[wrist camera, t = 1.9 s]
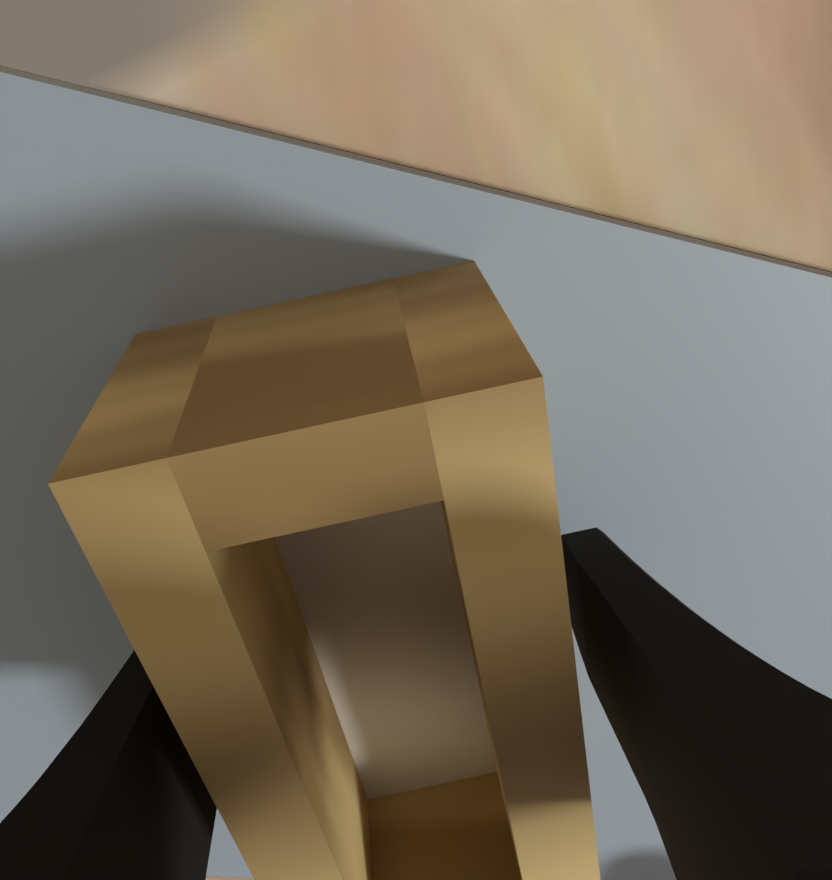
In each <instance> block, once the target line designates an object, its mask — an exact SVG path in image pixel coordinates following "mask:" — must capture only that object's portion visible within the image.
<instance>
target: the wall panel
mask: <svg viewBox="0 0 832 880" xmlns="http://www.w3.org/2000/svg"><path fill="white" fill-rule="evenodd" d="M471 261H475V263H476V264H477V266H478V268H479V270H480V271H481V273H482V275H483V276H484V278H485V280H486V281H487V283H488V285H489V286H490V288H491V290H492V291H493V293H494V295H495V296H496V298H497V300H498V302H499V303H500V305H501V307H502V308H503V310H504V312H505V313H506V315H507V317H508V318H509V320H510V322H511V323H512V325H513V327H514V329H515V330H516V332H517V334H518V335H519V337H520V339H521V340H522V342H523V344H524V345H525V347H526V349H527V350H528V352H529V354H530V355H531V357H532V359H533V361H534V362H535V364H536V366H537V367H538V369H539V371H540V372H541V374H542V376H543V381H544V390H545V398H546V407H547V416H548V425H549V433H550V442H551V451H552V460H553V469H554V477H555V486H556V495H557V504H558V512H559V521H560V530H561V535H563V534H568V533H572V532H577V531H581V530H586V529H591V528H595V527H597V528H598V529H600V530H601V531H603V532H604V533H605V534H606V535H607V536H608V537H609V538H610V539H611V540H612V541H613V542H614V543H615V544H616V545H617V546H618V547H619V548H620V549H621V550H622V551H623V552H624V553H625V554H627V555H628V556H629V557H630V558H631V559H632V560H633V561H634V562H635V563H636V564H637V565H639V566H640V567H641V568H642V569H643V570H644V571H645V572H646V573H648V574H649V575H650V576H651V577H652V578H653V579H654V580H656V581H657V582H658V583H659V584H660V585H662V586H663V587H664V588H665V589H666V590H668V591H669V592H670V593H671V594H673V595H674V596H675V597H676V598H678V599H679V600H680V601H681V602H682V603H684V604H685V605H686V606H687V607H689V608H690V609H691V610H693V611H694V612H695V613H696V614H698V615H699V616H700V617H702V618H703V619H704V620H706V621H707V622H708V623H710V624H711V625H713V626H714V627H715V628H717V629H718V630H719V631H721V632H722V633H724V634H725V635H726V636H728V637H729V638H731V639H732V640H734V641H735V642H736V643H738V644H739V645H741V646H742V647H744V648H745V649H747V650H748V651H750V652H751V653H753V654H754V655H756V656H758V657H759V658H761V659H762V660H764V661H766V662H767V663H769V664H770V665H772V666H774V667H775V668H777V669H778V670H780V671H782V672H783V673H785V674H787V675H789V676H790V677H792V678H794V679H796V680H797V681H799V682H801V683H803V684H804V685H806V686H808V687H809V688H811V689H813V690H815V691H817V692H819V693H821V694H823V695H825V696H827V697H829V698H831V699H832V273H831V272H827V271H823V270H819V269H815V268H811V267H807V266H803V265H799V264H795V263H791V262H787V261H783V260H779V259H775V258H771V257H767V256H763V255H759V254H755V253H751V252H747V251H743V250H739V249H735V248H731V247H727V246H723V245H719V244H715V243H711V242H707V241H703V240H699V239H695V238H691V237H687V236H683V235H679V234H675V233H671V232H667V231H663V230H659V229H655V228H651V227H647V226H643V225H639V224H635V223H631V222H627V221H623V220H619V219H615V218H611V217H607V216H603V215H599V214H595V213H591V212H587V211H583V210H579V209H574V208H570V207H566V206H562V205H558V204H554V203H550V202H546V201H542V200H538V199H534V198H530V197H526V196H522V195H518V194H514V193H510V192H506V191H502V190H498V189H494V188H490V187H486V186H482V185H478V184H474V183H470V182H466V181H462V180H458V179H454V178H450V177H446V176H442V175H438V174H434V173H430V172H426V171H422V170H418V169H414V168H410V167H406V166H402V165H398V164H394V163H390V162H386V161H382V160H378V159H374V158H370V157H366V156H362V155H358V154H354V153H350V152H346V151H342V150H338V149H334V148H330V147H326V146H322V145H318V144H314V143H309V142H305V141H301V140H297V139H293V138H289V137H285V136H281V135H277V134H273V133H269V132H265V131H261V130H257V129H253V128H249V127H245V126H241V125H237V124H233V123H229V122H225V121H221V120H217V119H213V118H209V117H205V116H201V115H197V114H193V113H189V112H185V111H181V110H177V109H173V108H169V107H165V106H161V105H157V104H153V103H149V102H145V101H141V100H137V99H133V98H129V97H125V96H121V95H117V94H113V93H109V92H105V91H101V90H97V89H93V88H89V87H85V86H81V85H76V84H72V83H68V82H64V81H60V80H56V79H53V78H49V77H45V76H40V75H36V74H32V73H28V72H24V71H20V70H16V69H12V68H8V67H4V66H0V823H1V821H2V820H3V819H4V818H5V817H6V816H7V815H8V814H9V813H10V812H11V811H12V809H13V808H14V807H15V806H16V805H17V804H18V803H19V801H20V800H21V799H22V798H23V797H24V796H25V795H26V793H27V792H28V791H29V790H30V789H31V787H32V786H33V785H34V784H35V783H36V782H37V780H38V779H39V778H40V777H41V775H42V774H43V773H44V772H45V770H46V769H47V768H48V767H49V765H50V764H51V763H52V761H53V760H54V759H55V758H56V756H57V755H58V754H59V753H60V751H61V750H62V749H63V747H64V746H65V745H66V744H67V742H68V741H69V740H70V739H71V737H72V736H73V735H74V733H75V732H76V731H77V730H78V728H79V727H80V726H81V724H82V723H83V722H84V720H85V719H86V718H87V716H88V715H89V713H90V712H91V711H92V709H93V708H94V706H95V705H96V704H97V702H98V701H99V699H100V698H101V697H102V695H103V694H104V693H105V691H106V690H107V688H108V687H109V685H110V684H111V683H112V681H113V680H114V678H115V677H116V675H117V674H118V673H119V671H120V670H121V668H122V667H123V665H124V664H125V663H126V661H127V660H128V658H129V657H130V655H131V654H132V653H133V651H134V648H133V646H132V644H131V642H130V640H129V638H128V636H127V635H126V633H125V631H124V629H123V627H122V625H121V623H120V621H119V619H118V617H117V615H116V613H115V612H114V610H113V608H112V606H111V604H110V602H109V600H108V598H107V596H106V594H105V592H104V590H103V589H102V587H101V585H100V583H99V581H98V579H97V577H96V575H95V573H94V571H93V569H92V567H91V566H90V564H89V562H88V560H87V558H86V556H85V554H84V552H83V550H82V548H81V546H80V545H79V543H78V541H77V539H76V537H75V535H74V533H73V531H72V529H71V527H70V525H69V523H68V522H67V520H66V518H65V516H64V514H63V512H62V510H61V508H60V506H59V504H58V502H57V500H56V499H55V497H54V495H53V493H52V491H51V489H50V487H49V485H48V483H49V481H50V479H51V477H52V476H53V474H54V472H55V471H56V469H57V467H58V466H59V464H60V462H61V460H62V459H63V457H64V455H65V454H66V452H67V450H68V448H69V447H70V445H71V443H72V442H73V440H74V438H75V437H76V435H77V433H78V431H79V430H80V428H81V426H82V425H83V423H84V421H85V419H86V418H87V416H88V414H89V413H90V411H91V409H92V408H93V406H94V404H95V402H96V401H97V399H98V397H99V396H100V394H101V392H102V391H103V389H104V387H105V385H106V384H107V382H108V380H109V379H110V377H111V375H112V373H113V372H114V370H115V368H116V367H117V365H118V363H119V362H120V360H121V358H122V356H123V355H124V353H125V351H126V350H127V348H128V346H129V344H130V343H131V341H132V339H133V338H134V336H135V334H139V333H144V332H149V331H153V330H158V329H162V328H167V327H172V326H176V325H181V324H185V323H190V322H195V321H199V320H204V319H208V318H213V317H218V316H222V315H227V314H231V313H236V312H241V311H245V310H250V309H254V308H259V307H264V306H268V305H273V304H277V303H282V302H287V301H291V300H296V299H301V298H305V297H310V296H314V295H319V294H324V293H328V292H333V291H337V290H342V289H347V288H351V287H356V286H360V285H365V284H370V283H374V282H379V281H383V280H388V279H393V278H397V277H402V276H406V275H411V274H416V273H420V272H425V271H429V270H434V269H439V268H443V267H448V266H452V265H457V264H462V263H466V262H471ZM572 635H573V644H574V652H575V661H576V670H577V679H578V687H579V696H580V705H581V714H582V722H583V731H584V740H585V749H586V757H587V766H588V775H589V784H590V792H591V801H592V810H593V819H594V827H595V836H596V845H597V854H598V862H599V871H600V880H676V877H675V874H674V872H673V869H672V866H671V863H670V861H669V858H668V855H667V852H666V850H665V847H664V844H663V841H662V838H661V836H660V833H659V830H658V827H657V825H656V822H655V820H654V817H653V815H652V813H651V810H650V808H649V806H648V803H647V801H646V799H645V796H644V794H643V792H642V790H641V788H640V786H639V784H638V781H637V779H636V777H635V775H634V773H633V771H632V769H631V767H630V764H629V762H628V760H627V758H626V756H625V754H624V752H623V750H622V747H621V745H620V743H619V741H618V739H617V737H616V735H615V733H614V731H613V728H612V726H611V724H610V722H609V720H608V718H607V716H606V714H605V711H604V709H603V707H602V705H601V703H600V701H599V699H598V696H597V694H596V692H595V690H594V688H593V686H592V683H591V681H590V679H589V677H588V674H587V671H586V668H585V665H584V662H583V659H582V656H581V653H580V650H579V647H578V644H577V641H576V638H575V635H574V632H573V629H572ZM206 876H209V877H231V878H253V876H252V874H251V872H250V870H249V868H248V866H247V865H246V863H245V861H244V859H243V857H242V855H241V853H240V851H239V849H238V847H237V845H236V843H235V842H234V840H233V838H232V836H231V834H230V832H229V830H228V828H227V826H226V824H225V822H224V820H223V819H222V817H221V815H220V813H219V811H218V809H217V811H216V817H215V823H214V829H213V835H212V842H211V848H210V854H209V860H208V866H207V872H206ZM253 879H254V878H253Z"/></svg>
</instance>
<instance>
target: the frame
mask: <svg viewBox="0 0 832 880" xmlns="http://www.w3.org/2000/svg"><path fill="white" fill-rule="evenodd" d="M48 485H49V487H50V489H51V491H52V493H53V495H54V497H55V499H56V500H57V502H58V504H59V506H60V508H61V510H62V512H63V514H64V516H65V518H66V520H67V522H68V523H69V525H70V527H71V529H72V531H73V533H74V535H75V537H76V539H77V541H78V543H79V545H80V546H81V548H82V550H83V552H84V554H85V556H86V558H87V560H88V562H89V564H90V566H91V567H92V569H93V571H94V573H95V575H96V577H97V579H98V581H99V583H100V585H101V587H102V589H103V590H104V592H105V594H106V596H107V598H108V600H109V602H110V604H111V606H112V608H113V610H114V612H115V613H116V615H117V617H118V619H119V621H120V623H121V625H122V627H123V629H124V631H125V633H126V635H127V636H128V638H129V640H130V642H131V644H132V646H133V648H134V650H135V652H136V654H137V656H138V658H139V659H140V661H141V663H142V665H143V667H144V669H145V671H146V673H147V675H148V677H149V679H150V681H151V682H152V684H153V686H154V688H155V690H156V692H157V694H158V696H159V698H160V700H161V702H162V704H163V705H164V707H165V709H166V711H167V713H168V715H169V717H170V719H171V721H172V723H173V725H174V727H175V728H176V730H177V732H178V734H179V736H180V738H181V740H182V742H183V744H184V746H185V748H186V750H187V751H188V753H189V755H190V757H191V759H192V761H193V763H194V765H195V767H196V769H197V771H198V773H199V774H200V776H201V778H202V780H203V782H204V784H205V786H206V788H207V790H208V792H209V794H210V796H211V797H212V799H213V801H214V803H215V805H216V807H217V809H218V811H219V813H220V815H221V817H222V819H223V820H224V822H225V824H226V826H227V828H228V830H229V832H230V834H231V836H232V838H233V840H234V842H235V843H236V845H237V847H238V849H239V851H240V853H241V855H242V857H243V859H244V861H245V863H246V865H247V866H248V868H249V870H250V872H251V874H252V876H253V878H254V880H600V871H599V862H598V854H597V845H596V836H595V827H594V819H593V810H592V801H591V792H590V784H589V775H588V766H587V757H586V749H585V740H584V731H583V722H582V714H581V705H580V696H579V687H578V679H577V670H576V661H575V652H574V644H573V635H572V626H571V617H570V609H569V600H568V591H567V582H566V574H565V565H564V556H563V547H562V539H561V530H560V521H559V512H558V504H557V495H556V486H555V477H554V469H553V460H552V451H551V442H550V433H549V425H548V416H547V407H546V398H545V390H544V381H543V376H542V374H541V372H540V371H539V369H538V367H537V366H536V364H535V362H534V361H533V359H532V357H531V355H530V354H529V352H528V350H527V349H526V347H525V345H524V344H523V342H522V340H521V339H520V337H519V335H518V334H517V332H516V330H515V329H514V327H513V325H512V323H511V322H510V320H509V318H508V317H507V315H506V313H505V312H504V310H503V308H502V307H501V305H500V303H499V302H498V300H497V298H496V296H495V295H494V293H493V291H492V290H491V288H490V286H489V285H488V283H487V281H486V280H485V278H484V276H483V275H482V273H481V271H480V270H479V268H478V266H477V264H476V263H475V261H471V262H466V263H462V264H457V265H452V266H448V267H443V268H439V269H434V270H429V271H425V272H420V273H416V274H411V275H406V276H402V277H397V278H393V279H388V280H383V281H379V282H374V283H370V284H365V285H360V286H356V287H351V288H347V289H342V290H337V291H333V292H328V293H324V294H319V295H314V296H310V297H305V298H301V299H296V300H291V301H287V302H282V303H277V304H273V305H268V306H264V307H259V308H254V309H250V310H245V311H241V312H236V313H231V314H227V315H222V316H218V317H213V318H208V319H204V320H199V321H195V322H190V323H185V324H181V325H176V326H172V327H167V328H162V329H158V330H153V331H149V332H144V333H139V334H135V336H134V338H133V339H132V341H131V343H130V344H129V346H128V348H127V350H126V351H125V353H124V355H123V356H122V358H121V360H120V362H119V363H118V365H117V367H116V368H115V370H114V372H113V373H112V375H111V377H110V379H109V380H108V382H107V384H106V385H105V387H104V389H103V391H102V392H101V394H100V396H99V397H98V399H97V401H96V402H95V404H94V406H93V408H92V409H91V411H90V413H89V414H88V416H87V418H86V419H85V421H84V423H83V425H82V426H81V428H80V430H79V431H78V433H77V435H76V437H75V438H74V440H73V442H72V443H71V445H70V447H69V448H68V450H67V452H66V454H65V455H64V457H63V459H62V460H61V462H60V464H59V466H58V467H57V469H56V471H55V472H54V474H53V476H52V477H51V479H50V481H49V483H48Z"/></svg>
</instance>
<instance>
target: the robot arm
mask: <svg viewBox="0 0 832 880" xmlns="http://www.w3.org/2000/svg"><path fill="white" fill-rule="evenodd" d="M561 539H562V547H563V556H564V565H565V574H566V582H567V591H568V600H569V609H570V617H571V626H572V629H573V632H574V635H575V638H576V641H577V644H578V647H579V650H580V653H581V656H582V659H583V662H584V665H585V668H586V671H587V674H588V677H589V679H590V681H591V683H592V686H593V688H594V690H595V692H596V694H597V696H598V699H599V701H600V703H601V705H602V707H603V709H604V711H605V714H606V716H607V718H608V720H609V722H610V724H611V726H612V728H613V731H614V733H615V735H616V737H617V739H618V741H619V743H620V745H621V747H622V750H623V752H624V754H625V756H626V758H627V760H628V762H629V764H630V767H631V769H632V771H633V773H634V775H635V777H636V779H637V781H638V784H639V786H640V788H641V790H642V792H643V794H644V796H645V799H646V801H647V803H648V806H649V808H650V810H651V813H652V815H653V817H654V820H655V822H656V825H657V827H658V830H659V833H660V836H661V838H662V841H663V844H664V847H665V850H666V852H667V855H668V858H669V861H670V863H671V866H672V869H673V872H674V874H675V877H676V880H832V699H831V698H829V697H827V696H825V695H823V694H821V693H819V692H817V691H815V690H813V689H811V688H809V687H808V686H806V685H804V684H803V683H801V682H799V681H797V680H796V679H794V678H792V677H790V676H789V675H787V674H785V673H783V672H782V671H780V670H778V669H777V668H775V667H774V666H772V665H770V664H769V663H767V662H766V661H764V660H762V659H761V658H759V657H758V656H756V655H754V654H753V653H751V652H750V651H748V650H747V649H745V648H744V647H742V646H741V645H739V644H738V643H736V642H735V641H734V640H732V639H731V638H729V637H728V636H726V635H725V634H724V633H722V632H721V631H719V630H718V629H717V628H715V627H714V626H713V625H711V624H710V623H708V622H707V621H706V620H704V619H703V618H702V617H700V616H699V615H698V614H696V613H695V612H694V611H693V610H691V609H690V608H689V607H687V606H686V605H685V604H684V603H682V602H681V601H680V600H679V599H678V598H676V597H675V596H674V595H673V594H671V593H670V592H669V591H668V590H666V589H665V588H664V587H663V586H662V585H660V584H659V583H658V582H657V581H656V580H654V579H653V578H652V577H651V576H650V575H649V574H648V573H646V572H645V571H644V570H643V569H642V568H641V567H640V566H639V565H637V564H636V563H635V562H634V561H633V560H632V559H631V558H630V557H629V556H628V555H627V554H625V553H624V552H623V551H622V550H621V549H620V548H619V547H618V546H617V545H616V544H615V543H614V542H613V541H612V540H611V539H610V538H609V537H608V536H607V535H606V534H605V533H604V532H603V531H601V530H600V529H598V528H597V527H595V528H591V529H586V530H581V531H577V532H572V533H568V534H563V535H561ZM216 811H217V807H216V805H215V803H214V801H213V799H212V797H211V796H210V794H209V792H208V790H207V788H206V786H205V784H204V782H203V780H202V778H201V776H200V774H199V773H198V771H197V769H196V767H195V765H194V763H193V761H192V759H191V757H190V755H189V753H188V751H187V750H186V748H185V746H184V744H183V742H182V740H181V738H180V736H179V734H178V732H177V730H176V728H175V727H174V725H173V723H172V721H171V719H170V717H169V715H168V713H167V711H166V709H165V707H164V705H163V704H162V702H161V700H160V698H159V696H158V694H157V692H156V690H155V688H154V686H153V684H152V682H151V681H150V679H149V677H148V675H147V673H146V671H145V669H144V667H143V665H142V663H141V661H140V659H139V658H138V656H137V654H136V652H135V650H134V651H133V653H132V654H131V655H130V657H129V658H128V660H127V661H126V663H125V664H124V665H123V667H122V668H121V670H120V671H119V673H118V674H117V675H116V677H115V678H114V680H113V681H112V683H111V684H110V685H109V687H108V688H107V690H106V691H105V693H104V694H103V695H102V697H101V698H100V699H99V701H98V702H97V704H96V705H95V706H94V708H93V709H92V711H91V712H90V713H89V715H88V716H87V718H86V719H85V720H84V722H83V723H82V724H81V726H80V727H79V728H78V730H77V731H76V732H75V733H74V735H73V736H72V737H71V739H70V740H69V741H68V742H67V744H66V745H65V746H64V747H63V749H62V750H61V751H60V753H59V754H58V755H57V756H56V758H55V759H54V760H53V761H52V763H51V764H50V765H49V767H48V768H47V769H46V770H45V772H44V773H43V774H42V775H41V777H40V778H39V779H38V780H37V782H36V783H35V784H34V785H33V786H32V787H31V789H30V790H29V791H28V792H27V793H26V795H25V796H24V797H23V798H22V799H21V800H20V801H19V803H18V804H17V805H16V806H15V807H14V808H13V809H12V811H11V812H10V813H9V814H8V815H7V816H6V817H5V818H4V819H3V820H2V821H1V823H0V880H205V878H206V872H207V866H208V860H209V854H210V848H211V842H212V835H213V829H214V823H215V817H216Z"/></svg>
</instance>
